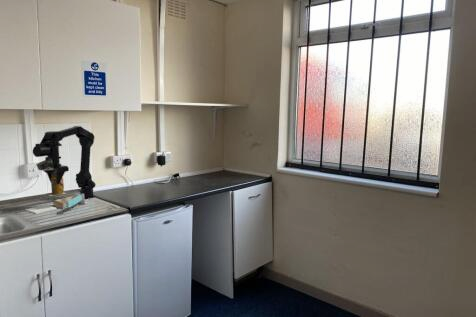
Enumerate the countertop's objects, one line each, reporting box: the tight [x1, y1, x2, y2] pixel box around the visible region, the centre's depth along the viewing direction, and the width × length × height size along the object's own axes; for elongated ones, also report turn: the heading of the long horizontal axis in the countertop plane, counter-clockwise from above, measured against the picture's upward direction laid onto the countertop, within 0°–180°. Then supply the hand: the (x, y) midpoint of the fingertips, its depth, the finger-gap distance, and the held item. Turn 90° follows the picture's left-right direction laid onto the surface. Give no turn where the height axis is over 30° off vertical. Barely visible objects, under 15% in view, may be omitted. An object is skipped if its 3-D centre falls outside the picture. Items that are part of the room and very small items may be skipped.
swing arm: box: [65, 194, 82, 209], centre depth 195 cm, size 16×1×3 cm, turn 179°
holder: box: [52, 193, 86, 209], centre depth 203 cm, size 12×12×6 cm
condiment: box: [46, 172, 67, 197], centre depth 198 cm, size 7×8×12 cm
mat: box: [24, 204, 58, 215], centre depth 194 cm, size 11×11×1 cm
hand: (54, 183), depth 198 cm, fingers closed on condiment, 6 cm apart
